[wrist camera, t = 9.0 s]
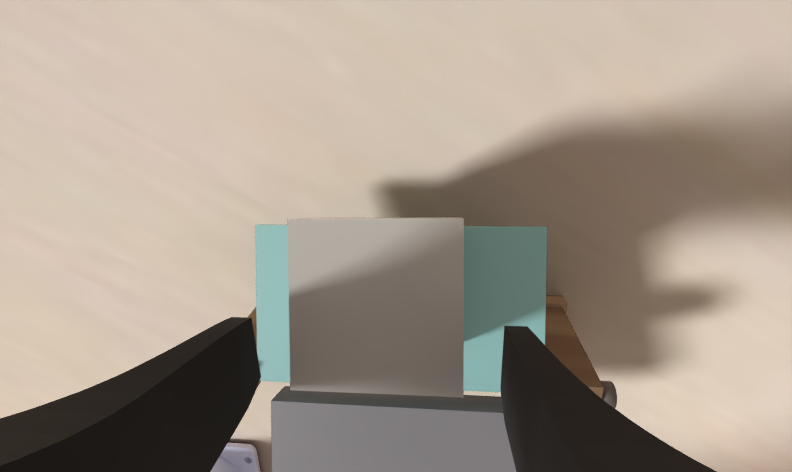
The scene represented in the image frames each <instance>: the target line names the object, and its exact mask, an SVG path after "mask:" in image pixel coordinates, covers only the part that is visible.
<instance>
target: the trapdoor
mask: <svg viewBox="0 0 792 472" xmlns="http://www.w3.org/2000/svg"><path fill="white" fill-rule="evenodd" d="M255 238H256V317H257V355H258V361H259V367H260V373H261V378H260V381H273V382H290V340H289V281H288V225H255ZM546 268H547V227H544V226H464V387H463V391H484V392H501V389H500V386H501V371H502V355H503V340H504V326H528V328H529V329H530V330H531V331H532V332H533V333H534V334H535V335H536V336H537V337H538V338H539V339H540V340H541V341H542V343H543V344H544V345H545V317H546ZM271 434H272V472H516V468H515V464H514V460H513V456H512V451H511V447H510V443H509V439H508V435H507V431H506V426H505V422H504V414H503V406H502V397H494V396H474V395H463V397H443V396H419V395H395V394H371V393H346V392H322V391H298V390H290V387H289V386H285V387H284V388H283V389H282V390H281V391H280V392H279V393H278V394H277V395H276V396H275V397H274V398H273V399H272V401H271Z"/></svg>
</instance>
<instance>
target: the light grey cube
mask: <svg viewBox="0 0 792 472" xmlns="http://www.w3.org/2000/svg"><path fill="white" fill-rule="evenodd" d="M287 221H288V281H289V340H290V390H298V391H322V392H346V393H371V394H395V395H419V396H443V397H463V387H464V218H460V217H387V218H301V219H287Z"/></svg>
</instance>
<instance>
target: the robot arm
mask: <svg viewBox="0 0 792 472" xmlns="http://www.w3.org/2000/svg"><path fill="white" fill-rule="evenodd" d="M260 378H261V373H260V367H259V361H258V355H257V349H256V342H255V336H254V330H253V324H252V318H239V317H231V318H229V319H226V320H224V321H222V322H220V323H218V324H216V325H214V326H212V327H210V328H208V329H207V330H205V331H203V332H201V333H199V334H197V335H196V336H194V337H192V338H190V339H188V340H186V341H185V342H183V343H181V344H179V345H177V346H176V347H174V348H172V349H170V350H168V351H166V352H164V353H162V354H160V355H158V356H156V357H155V358H153V359H151V360H149V361H147V362H145V363H143V364H141V365H139V366H137V367H135V368H133V369H131V370H129V371H127V372H125V373H122V374H120V375H118V376H116V377H114V378H111V379H109V380H107V381H104V382H102V383H100V384H97V385H95V386H93V387H90V388H88V389H85V390H83V391H80V392H78V393H75V394H72V395H69V396H67V397H64V398H61V399H58V400H55V401H53V402H50V403H47V404H44V405H42V406H39V407H36V408H33V409H30V410H27V411H24V412H20V413H17V414H14V415H11V416H8V417H4V418H1V419H0V472H260V467H259V461H258V456H257V450H256V448H255V447H254V446H253V445H251V444H241V443H228V441H229V440H230V438H231V436H232V435H233V433H234V431H235V430H236V428H237V426H238V424H239V423H240V421H241V419H242V418H243V416H244V414H245V412H246V411H247V409H248V407H249V405H250V402H251V400H252V398H253V395H254V393H255V391H256V388H257V386H258V383H259V381H260ZM500 389H501V397H502V406H503V414H504V422H505V426H506V431H507V435H508V439H509V443H510V447H511V451H512V456H513V460H514V464H515V468H516V472H716V471H714V470H712V469H711V468H709V467H707V466H705V465H703V464H701V463H699V462H697V461H696V460H694V459H692V458H690V457H688V456H687V455H685V454H683V453H681V452H680V451H678V450H676V449H674V448H673V447H671V446H669V445H668V444H666V443H665V442H663V441H661V440H660V439H658V438H657V437H655V436H654V435H652V434H650V433H649V432H647V431H646V430H644V429H643V428H641V427H640V426H638V425H637V424H635V423H634V422H632V421H631V420H629V419H628V418H627V417H625V416H624V415H623V414H621V413H620V412H619V411H617V410H616V409H614V408H613V407H612V406H610V405H609V404H608V403H606V402H605V401H604V400H603V399H601V398H600V397H599V396H598V395H597V394H595V393H594V392H593V391H592V390H591V389H590V388H588V387H587V386H586V385H585V384H584V383H583V382H582V381H580V380H579V379H578V378H577V377H576V376H575V375H574V374H573V373H572V372H571V371H570V370H569V369H568V368H567V367H566V366H564V365H563V364H562V363H561V362H560V361H559V360H558V358H557V357H556V356H555V355H554V354H553V353H552V352H551V351H550V350H549V349H548V348H547V347H546V346H545V345H544V344H543V343H542V341H541V340H540V339H539V338H538V337H537V336H536V335H535V334H534V333H533V332H532V331H531V330H530V329H529V328H528V326H504V340H503V355H502V371H501V386H500Z"/></svg>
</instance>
